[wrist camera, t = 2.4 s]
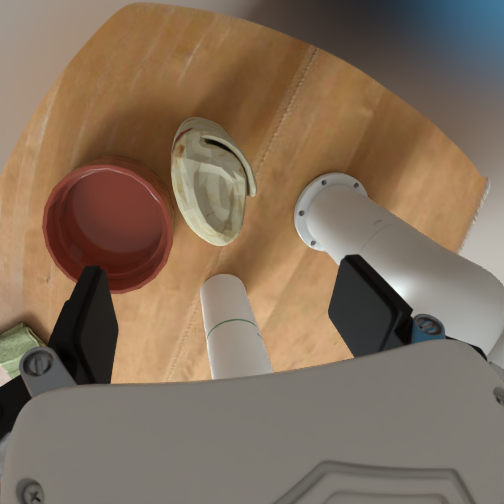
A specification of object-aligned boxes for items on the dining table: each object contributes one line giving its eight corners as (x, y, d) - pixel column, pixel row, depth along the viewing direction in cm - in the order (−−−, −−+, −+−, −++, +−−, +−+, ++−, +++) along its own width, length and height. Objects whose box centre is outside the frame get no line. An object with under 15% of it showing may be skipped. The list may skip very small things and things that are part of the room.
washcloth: (68, 363, 48) (65, 375, 45) (21, 377, 48) (18, 388, 45) (27, 317, 41) (21, 328, 39) (-16, 338, 41) (-21, 348, 38)
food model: (166, 122, 34) (145, 139, 16) (217, 108, 34) (250, 110, 17) (186, 192, 39) (189, 270, 21) (234, 178, 39) (277, 244, 22)
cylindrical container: (214, 316, 49) (242, 452, 28) (191, 287, 46) (209, 433, 24) (252, 297, 49) (301, 429, 28) (232, 265, 45) (277, 406, 24)
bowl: (174, 153, 36) (172, 161, 31) (175, 269, 44) (174, 293, 38) (53, 160, 32) (34, 170, 27) (69, 271, 40) (57, 293, 35)
